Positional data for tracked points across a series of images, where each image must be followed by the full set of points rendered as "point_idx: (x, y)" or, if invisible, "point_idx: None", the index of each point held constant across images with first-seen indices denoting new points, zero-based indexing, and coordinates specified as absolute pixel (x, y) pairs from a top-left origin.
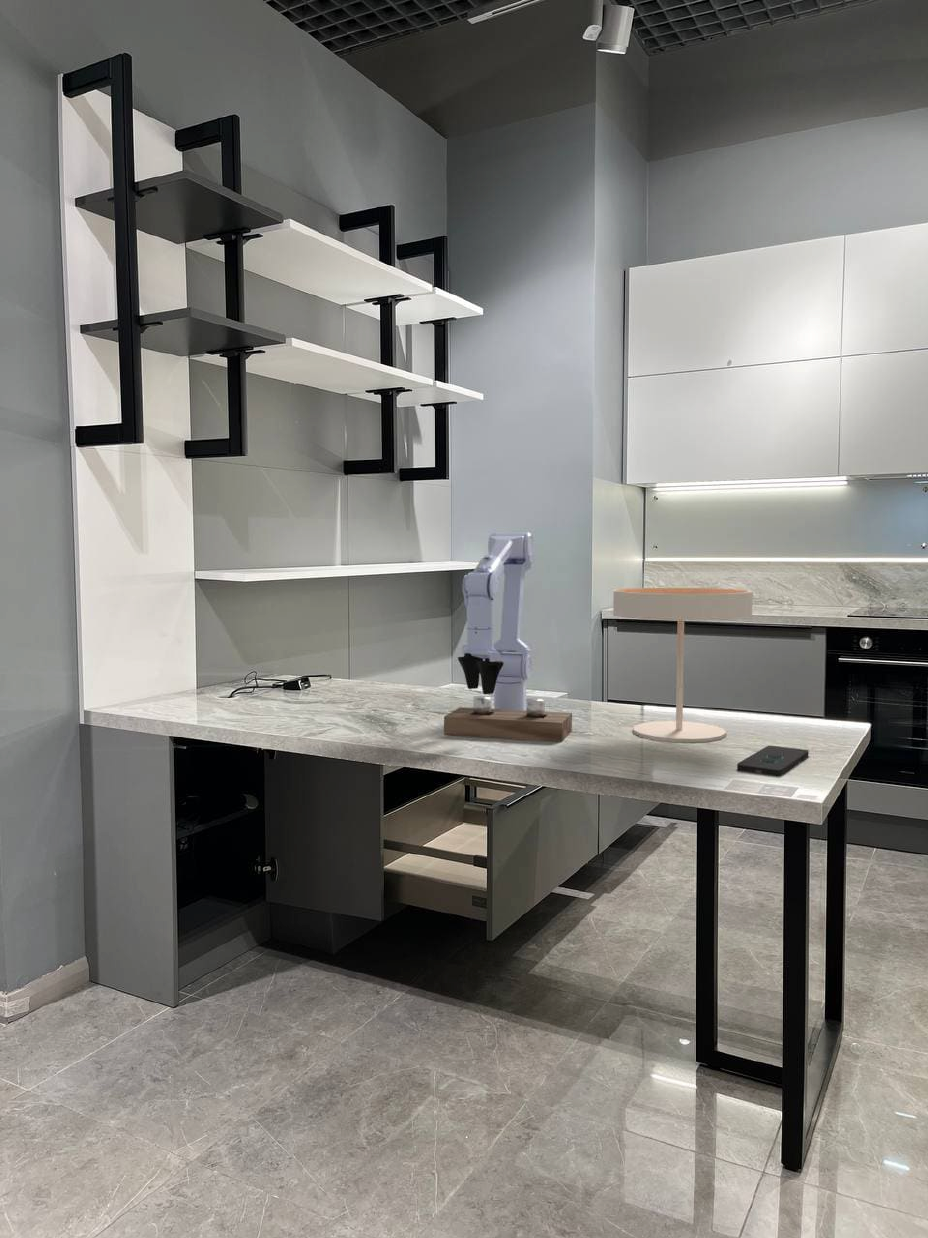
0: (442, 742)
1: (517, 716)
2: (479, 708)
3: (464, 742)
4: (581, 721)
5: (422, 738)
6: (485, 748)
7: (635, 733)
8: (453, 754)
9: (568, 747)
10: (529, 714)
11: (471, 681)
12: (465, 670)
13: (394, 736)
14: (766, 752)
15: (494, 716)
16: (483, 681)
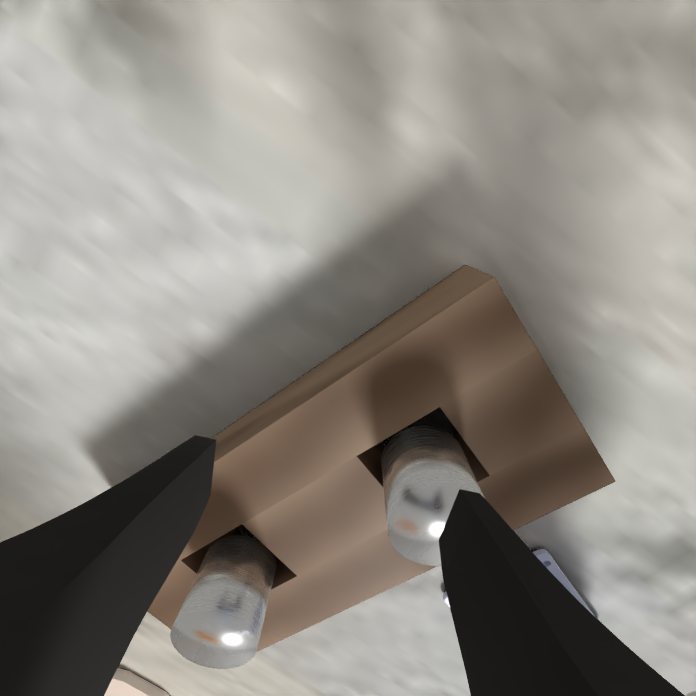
0: (341, 155)
1: (269, 520)
2: (405, 454)
3: (284, 238)
4: (332, 684)
5: (475, 129)
6: (139, 235)
7: (118, 670)
8: (88, 22)
9: (36, 463)
10: (226, 551)
11: (472, 554)
12: (551, 629)
13: (623, 26)
14: None
15: (327, 459)
16: (109, 491)
